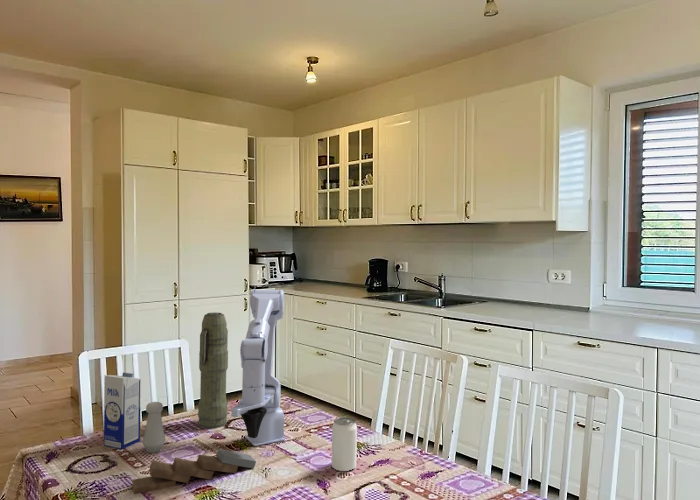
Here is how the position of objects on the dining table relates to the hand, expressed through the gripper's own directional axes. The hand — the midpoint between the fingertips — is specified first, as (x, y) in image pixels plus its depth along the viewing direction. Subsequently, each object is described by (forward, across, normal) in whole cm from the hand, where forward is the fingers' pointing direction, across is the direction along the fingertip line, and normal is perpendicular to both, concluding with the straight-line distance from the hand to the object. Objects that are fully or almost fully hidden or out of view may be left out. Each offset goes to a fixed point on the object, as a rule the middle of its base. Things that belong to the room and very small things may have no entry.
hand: (252, 436), depth 133 cm
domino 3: (+7, +10, -5) cm, 13 cm away
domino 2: (+6, +14, -8) cm, 18 cm away
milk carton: (+8, +8, -41) cm, 42 cm away
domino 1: (+7, +17, -10) cm, 21 cm away
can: (+8, -12, +21) cm, 25 cm away
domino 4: (+7, +4, -2) cm, 8 cm away
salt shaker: (+8, +6, -29) cm, 31 cm away
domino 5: (+6, 0, 0) cm, 7 cm away
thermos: (+8, -17, -30) cm, 36 cm away
